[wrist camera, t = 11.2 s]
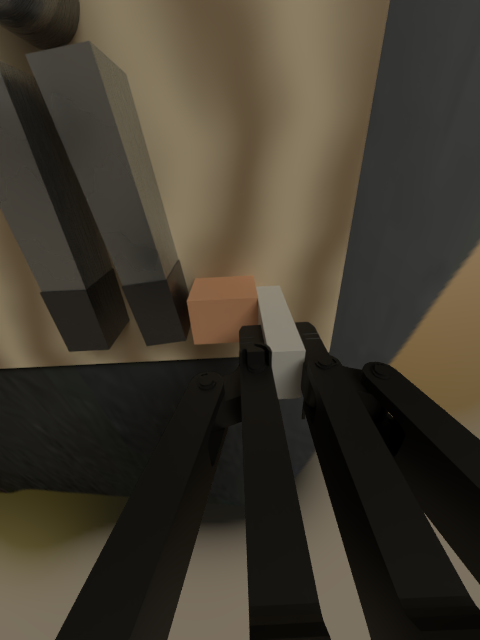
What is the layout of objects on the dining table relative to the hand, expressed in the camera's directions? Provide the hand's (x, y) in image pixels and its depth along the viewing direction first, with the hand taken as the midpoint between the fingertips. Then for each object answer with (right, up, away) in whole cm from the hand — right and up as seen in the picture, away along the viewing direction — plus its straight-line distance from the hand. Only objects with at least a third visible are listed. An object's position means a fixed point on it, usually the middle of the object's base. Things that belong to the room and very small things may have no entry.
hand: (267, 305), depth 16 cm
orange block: (-3, +1, +2) cm, 3 cm away
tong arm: (-7, +5, -1) cm, 9 cm away
